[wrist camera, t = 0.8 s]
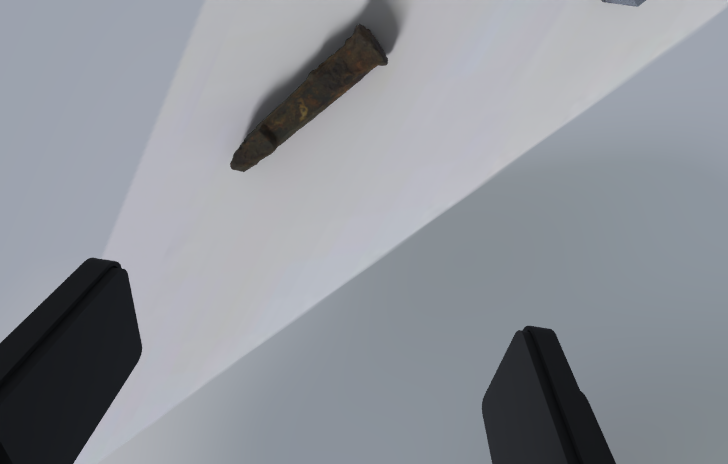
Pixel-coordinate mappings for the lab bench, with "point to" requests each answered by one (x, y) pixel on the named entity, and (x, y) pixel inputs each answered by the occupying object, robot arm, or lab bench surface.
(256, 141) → the hand tool
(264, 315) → the lab bench surface
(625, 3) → the clamp frame
